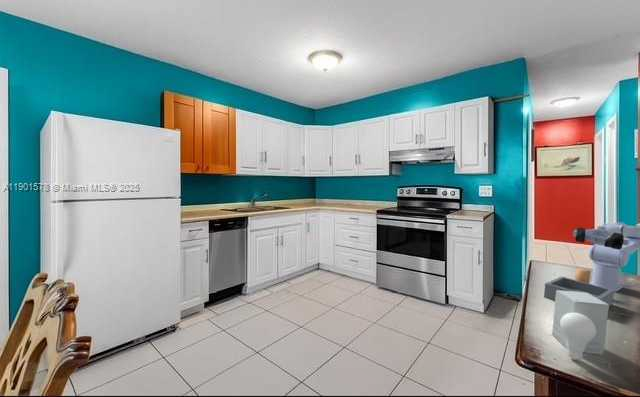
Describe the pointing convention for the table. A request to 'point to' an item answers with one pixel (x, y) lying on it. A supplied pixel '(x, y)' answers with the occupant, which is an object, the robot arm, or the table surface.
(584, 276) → the peg
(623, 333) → the table surface
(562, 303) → the supplement box
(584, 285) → the box
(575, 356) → the lightbulb
